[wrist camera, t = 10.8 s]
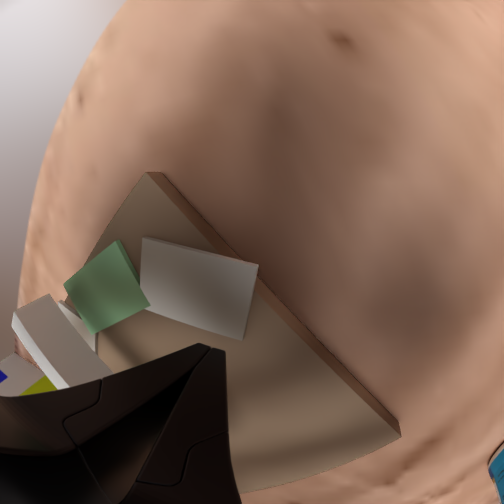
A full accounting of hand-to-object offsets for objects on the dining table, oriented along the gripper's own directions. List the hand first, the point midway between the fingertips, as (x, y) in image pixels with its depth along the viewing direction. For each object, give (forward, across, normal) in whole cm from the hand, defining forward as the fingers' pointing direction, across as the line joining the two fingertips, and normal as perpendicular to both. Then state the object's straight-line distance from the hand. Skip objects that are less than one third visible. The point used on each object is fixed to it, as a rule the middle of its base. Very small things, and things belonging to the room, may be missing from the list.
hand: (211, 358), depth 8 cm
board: (+5, +2, +7) cm, 9 cm away
